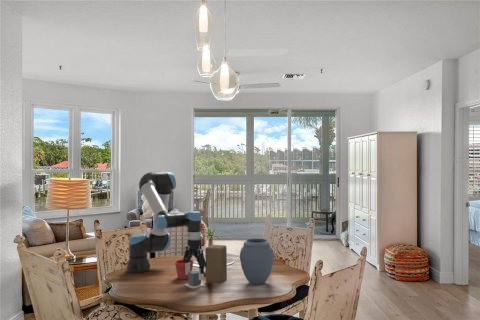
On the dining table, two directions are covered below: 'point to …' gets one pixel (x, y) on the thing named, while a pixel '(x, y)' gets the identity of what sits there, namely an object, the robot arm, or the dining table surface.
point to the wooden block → (216, 263)
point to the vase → (256, 260)
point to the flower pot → (182, 268)
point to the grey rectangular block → (193, 278)
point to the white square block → (194, 286)
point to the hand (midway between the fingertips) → (194, 276)
